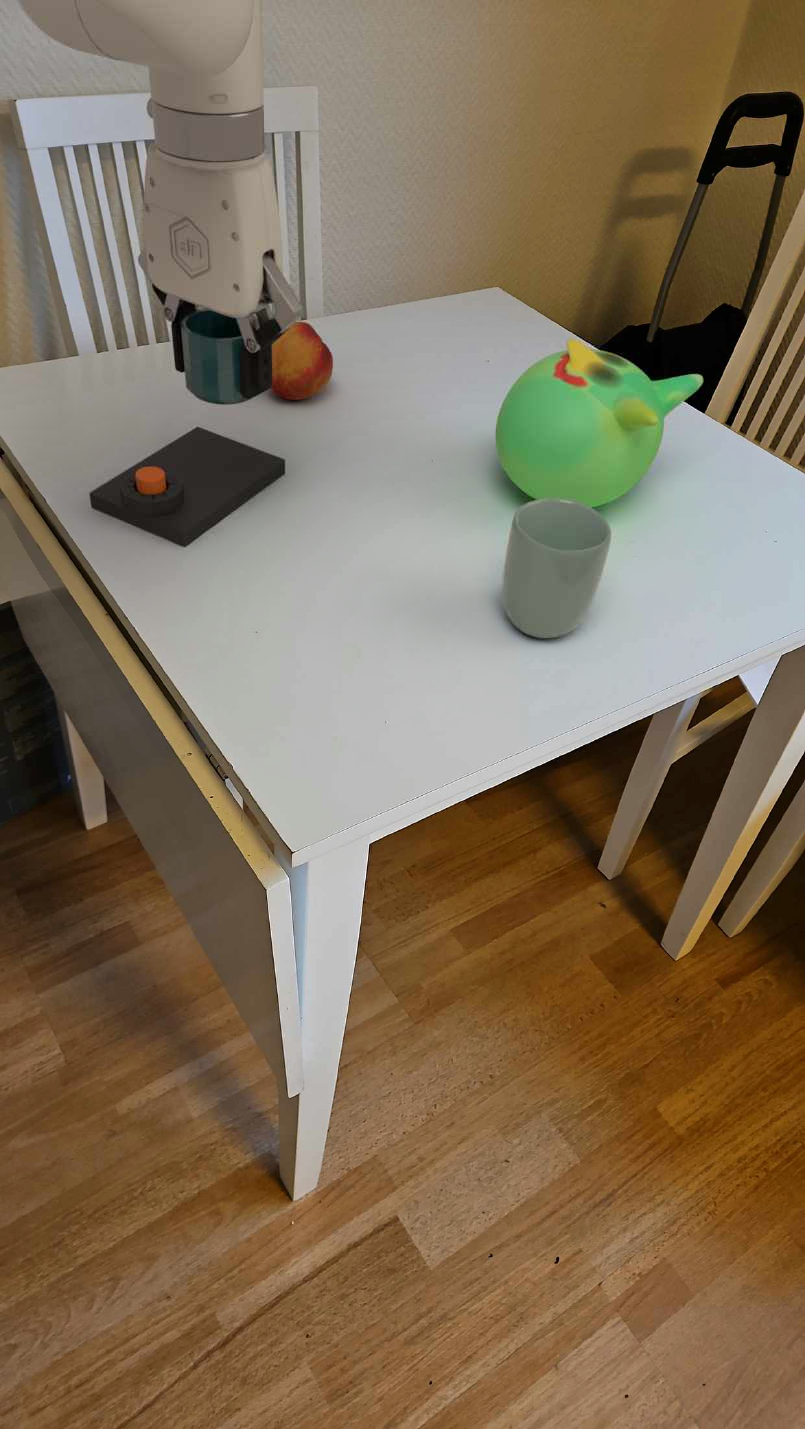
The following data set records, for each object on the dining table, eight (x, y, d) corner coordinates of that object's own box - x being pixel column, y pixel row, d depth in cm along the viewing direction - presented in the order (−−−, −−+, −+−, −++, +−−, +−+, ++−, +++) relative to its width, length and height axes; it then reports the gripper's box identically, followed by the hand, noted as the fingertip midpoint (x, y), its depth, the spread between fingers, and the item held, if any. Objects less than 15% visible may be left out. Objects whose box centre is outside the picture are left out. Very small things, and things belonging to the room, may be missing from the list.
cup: (553, 587, 86) (576, 490, 79) (602, 639, 82) (631, 540, 75) (479, 605, 84) (496, 506, 77) (525, 660, 79) (547, 560, 72)
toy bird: (529, 433, 107) (554, 300, 96) (674, 480, 102) (716, 345, 92) (459, 505, 95) (479, 362, 85) (619, 562, 90) (661, 417, 80)
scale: (183, 548, 86) (180, 518, 84) (89, 508, 90) (84, 478, 87) (285, 473, 97) (285, 444, 94) (198, 440, 100) (196, 411, 98)
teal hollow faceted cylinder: (188, 408, 77) (182, 340, 73) (184, 373, 81) (179, 307, 77) (265, 406, 78) (264, 339, 74) (258, 372, 82) (256, 307, 78)
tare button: (153, 499, 86) (151, 484, 85) (131, 490, 87) (129, 475, 86) (172, 487, 88) (170, 472, 87) (150, 478, 89) (148, 463, 88)
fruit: (336, 412, 107) (338, 341, 101) (263, 412, 106) (261, 340, 100) (329, 380, 112) (331, 311, 107) (260, 379, 111) (258, 310, 105)
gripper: (79, 114, 67) (113, 363, 79) (274, 171, 61) (277, 431, 73) (155, 98, 71) (176, 335, 84) (342, 150, 66) (335, 397, 78)
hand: (223, 377), depth 79 cm, fingers closed on teal hollow faceted cylinder, 6 cm apart
